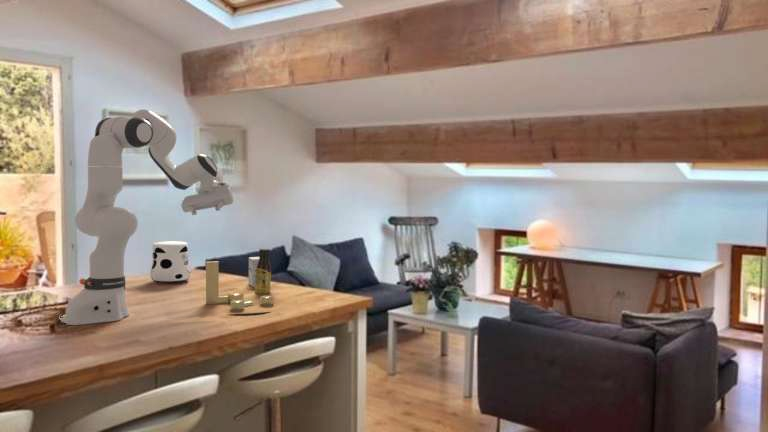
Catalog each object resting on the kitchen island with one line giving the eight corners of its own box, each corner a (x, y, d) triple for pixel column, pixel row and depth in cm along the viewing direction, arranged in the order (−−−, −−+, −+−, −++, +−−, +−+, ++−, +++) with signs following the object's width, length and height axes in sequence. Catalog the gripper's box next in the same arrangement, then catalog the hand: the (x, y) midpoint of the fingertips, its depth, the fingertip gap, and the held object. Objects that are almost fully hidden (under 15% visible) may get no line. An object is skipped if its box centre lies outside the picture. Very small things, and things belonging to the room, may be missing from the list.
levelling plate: (237, 318, 225) (237, 306, 224) (205, 308, 240) (205, 296, 240) (287, 309, 241) (287, 298, 240) (254, 300, 256) (254, 289, 255)
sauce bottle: (251, 296, 264) (252, 248, 263) (261, 293, 270) (261, 247, 268) (264, 298, 261) (264, 250, 260) (273, 295, 267) (274, 248, 265)
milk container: (198, 281, 295) (198, 243, 294) (167, 287, 280) (167, 246, 279) (173, 277, 304) (173, 240, 303) (142, 282, 290) (142, 243, 288)
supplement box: (248, 284, 290) (248, 257, 289) (264, 283, 293) (264, 256, 292) (251, 287, 284) (252, 259, 283) (268, 286, 287) (268, 258, 286)
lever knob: (206, 305, 239) (206, 263, 238) (205, 302, 244) (205, 260, 243) (244, 303, 244) (244, 261, 242) (242, 300, 249) (242, 259, 248)
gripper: (181, 191, 258) (176, 209, 246) (231, 182, 258) (228, 200, 246) (186, 204, 261) (181, 222, 250) (235, 195, 261) (233, 213, 250)
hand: (205, 211), depth 248 cm, fingers open, 8 cm apart
